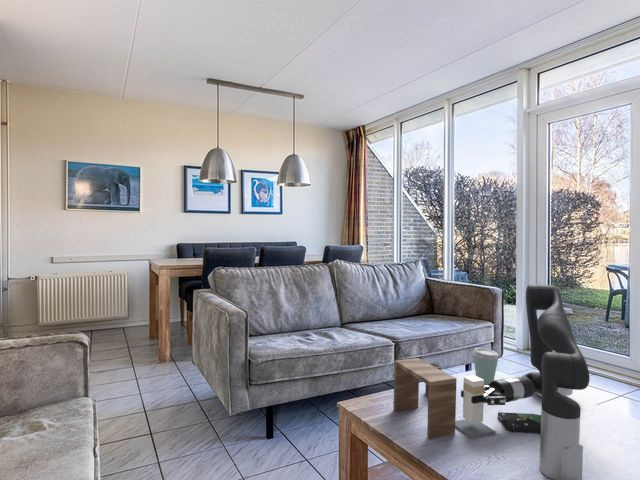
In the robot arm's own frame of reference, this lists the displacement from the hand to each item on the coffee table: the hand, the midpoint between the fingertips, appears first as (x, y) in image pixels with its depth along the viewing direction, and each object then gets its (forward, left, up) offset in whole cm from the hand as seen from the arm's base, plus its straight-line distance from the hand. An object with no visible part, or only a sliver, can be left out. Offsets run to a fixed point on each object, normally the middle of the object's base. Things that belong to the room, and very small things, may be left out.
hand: (467, 397), depth 135 cm
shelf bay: (+10, +10, -11) cm, 18 cm away
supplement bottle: (+28, -8, -11) cm, 31 cm away
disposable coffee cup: (+30, -36, -11) cm, 48 cm away
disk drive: (-4, -21, -12) cm, 25 cm away
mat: (0, -3, -11) cm, 11 cm away
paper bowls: (+12, -53, -11) cm, 55 cm away
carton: (0, -3, -8) cm, 8 cm away
